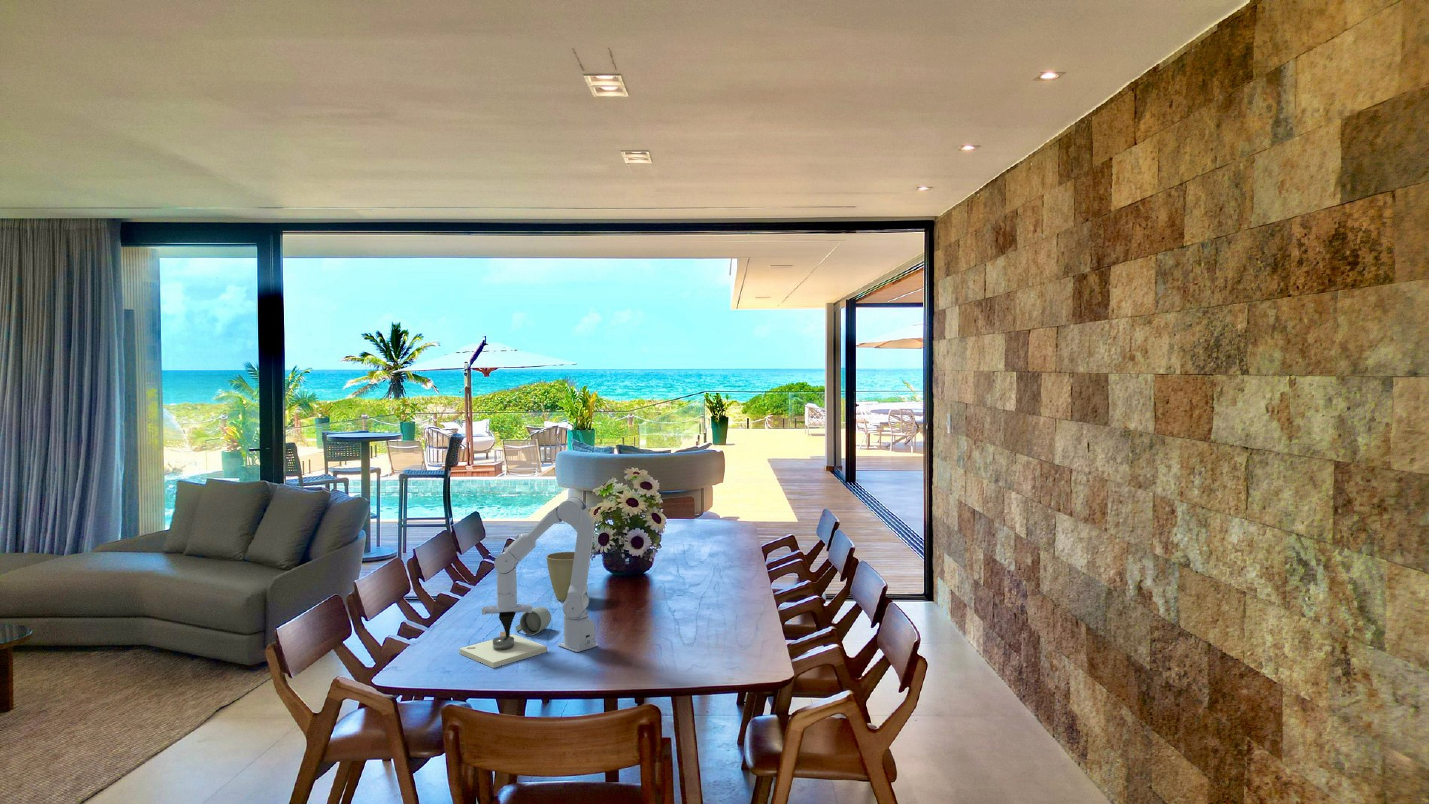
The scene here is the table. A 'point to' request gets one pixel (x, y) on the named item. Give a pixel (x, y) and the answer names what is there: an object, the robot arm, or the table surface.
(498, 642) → the twist handle
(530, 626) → the ceramic mug
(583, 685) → the table surface
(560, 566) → the plant pot
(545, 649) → the base
